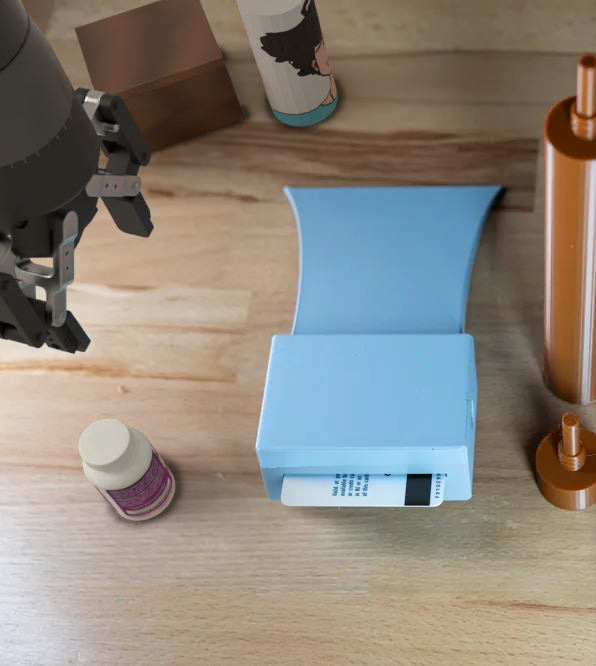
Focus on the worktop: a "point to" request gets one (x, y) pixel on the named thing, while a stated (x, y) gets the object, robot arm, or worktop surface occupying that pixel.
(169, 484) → the pill bottle
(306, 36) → the cup
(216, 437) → the worktop surface
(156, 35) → the wooden lidded box
